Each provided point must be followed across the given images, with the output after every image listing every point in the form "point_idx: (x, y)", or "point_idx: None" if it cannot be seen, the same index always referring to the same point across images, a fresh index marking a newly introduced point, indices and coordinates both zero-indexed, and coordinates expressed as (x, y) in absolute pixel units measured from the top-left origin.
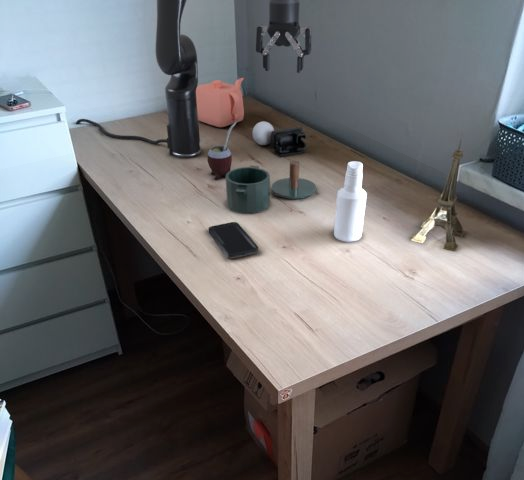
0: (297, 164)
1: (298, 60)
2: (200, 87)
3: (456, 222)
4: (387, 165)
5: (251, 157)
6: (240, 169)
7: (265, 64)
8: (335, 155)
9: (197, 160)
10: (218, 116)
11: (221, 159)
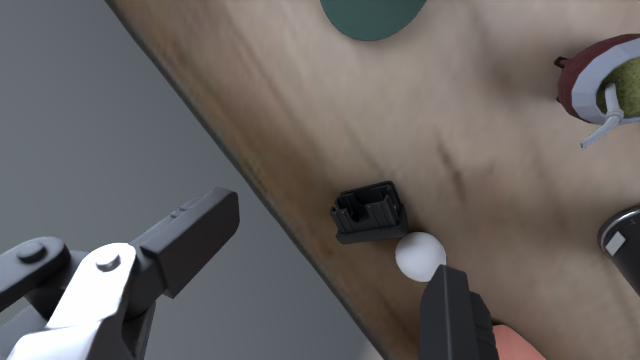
0: None
1: (169, 235)
2: None
3: None
4: (207, 126)
5: (459, 185)
6: None
7: (470, 310)
8: (288, 175)
9: (631, 185)
10: (515, 347)
11: (632, 37)
